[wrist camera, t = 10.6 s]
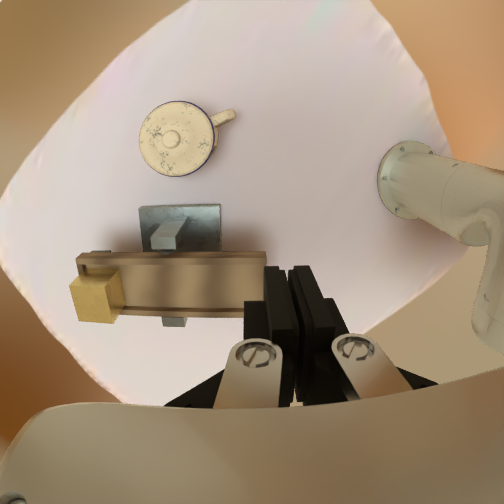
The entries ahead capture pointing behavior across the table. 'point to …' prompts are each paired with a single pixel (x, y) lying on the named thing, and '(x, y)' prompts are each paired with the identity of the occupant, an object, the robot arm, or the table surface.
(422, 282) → the table surface
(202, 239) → the pivot stand
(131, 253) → the balance beam
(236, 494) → the robot arm
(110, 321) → the block
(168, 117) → the teacup with lid
